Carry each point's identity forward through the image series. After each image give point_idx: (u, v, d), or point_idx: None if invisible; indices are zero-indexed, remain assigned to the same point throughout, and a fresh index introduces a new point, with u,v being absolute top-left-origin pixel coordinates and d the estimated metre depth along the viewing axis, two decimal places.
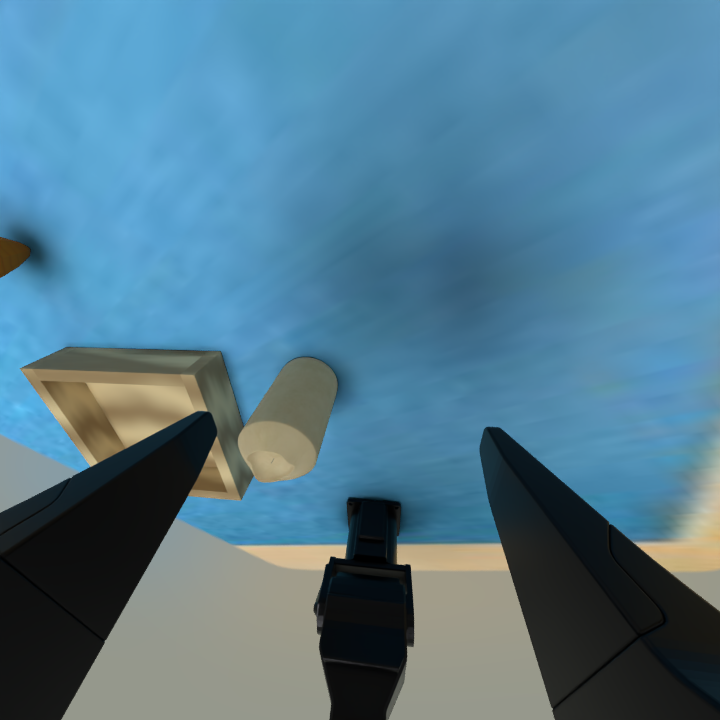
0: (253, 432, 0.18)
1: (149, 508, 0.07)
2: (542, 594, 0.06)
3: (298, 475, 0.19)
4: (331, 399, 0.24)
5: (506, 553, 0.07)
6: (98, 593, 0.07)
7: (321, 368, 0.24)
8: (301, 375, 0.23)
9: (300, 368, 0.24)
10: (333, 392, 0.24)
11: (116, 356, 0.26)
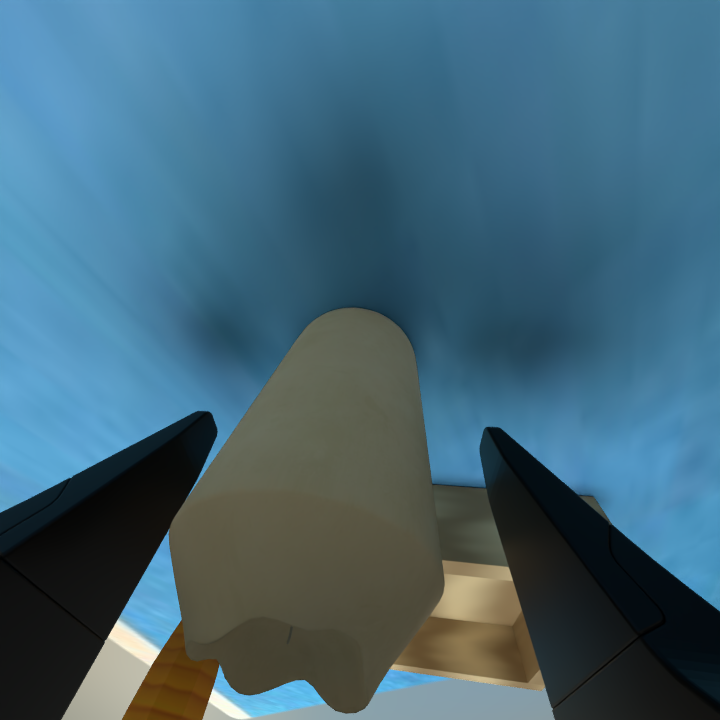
0: None
1: (149, 508, 0.07)
2: (542, 594, 0.06)
3: (377, 586, 0.04)
4: (329, 337, 0.09)
5: (506, 553, 0.07)
6: (98, 593, 0.07)
7: None
8: None
9: None
10: (333, 325, 0.10)
11: None
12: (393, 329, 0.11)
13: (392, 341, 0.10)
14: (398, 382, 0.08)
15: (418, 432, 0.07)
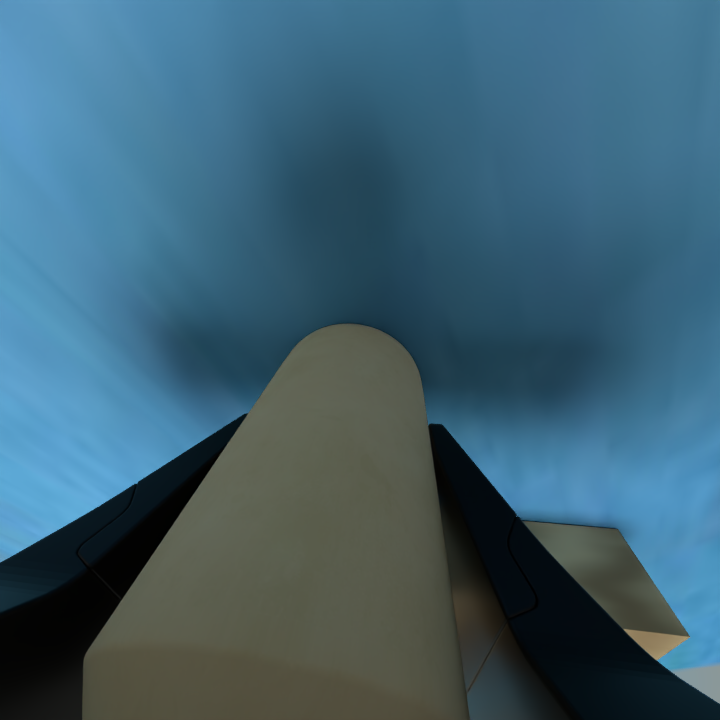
0: None
1: None
2: (457, 584, 0.06)
3: None
4: (319, 364, 0.08)
5: None
6: None
7: None
8: None
9: None
10: (325, 348, 0.08)
11: None
12: (396, 350, 0.09)
13: (395, 367, 0.08)
14: (403, 425, 0.06)
15: (429, 496, 0.06)
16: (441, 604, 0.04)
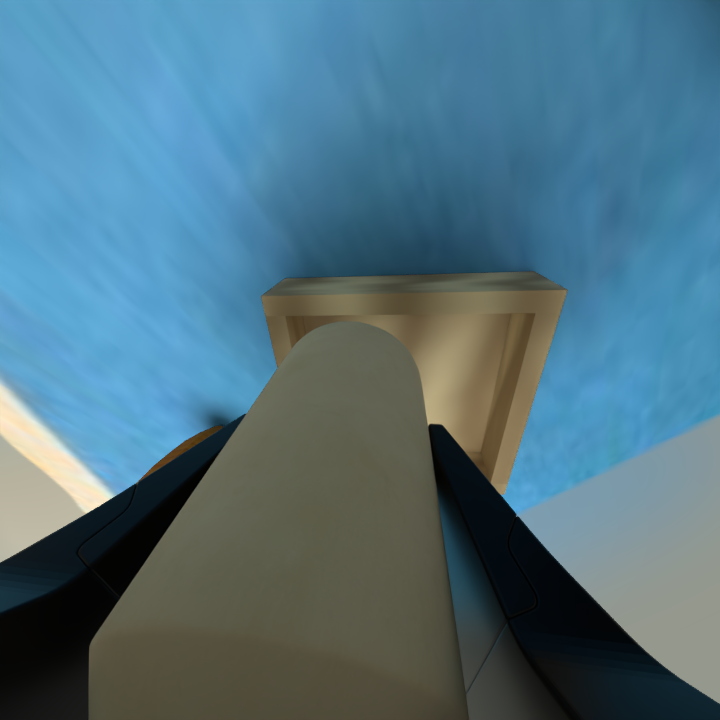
0: None
1: None
2: (457, 584, 0.06)
3: None
4: (319, 361, 0.08)
5: None
6: None
7: None
8: None
9: None
10: (325, 345, 0.08)
11: None
12: (395, 347, 0.09)
13: (394, 364, 0.08)
14: (402, 420, 0.07)
15: (428, 489, 0.06)
16: (439, 593, 0.04)
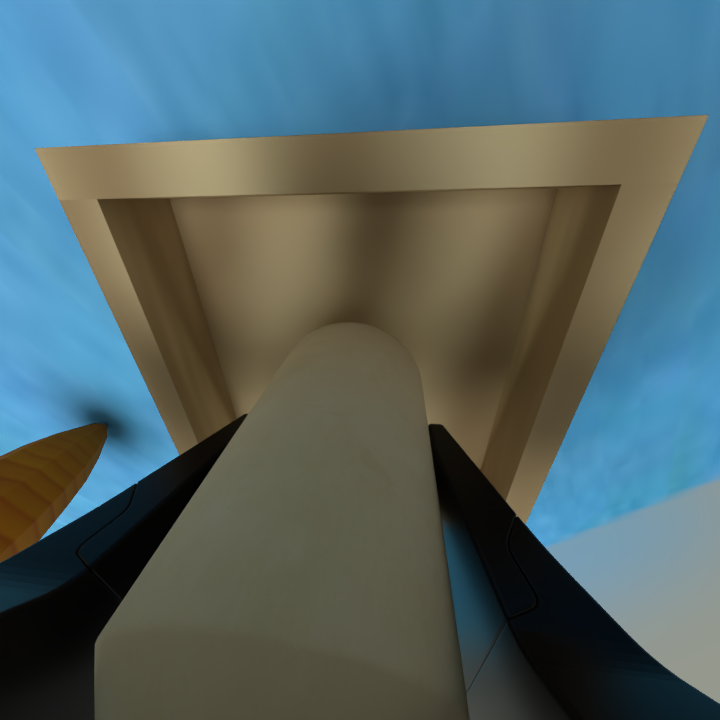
0: None
1: None
2: (457, 585, 0.06)
3: None
4: (320, 362, 0.08)
5: None
6: None
7: (284, 360, 0.10)
8: None
9: None
10: (326, 346, 0.09)
11: None
12: (395, 348, 0.10)
13: (394, 365, 0.08)
14: (402, 420, 0.07)
15: (428, 489, 0.06)
16: (439, 591, 0.04)
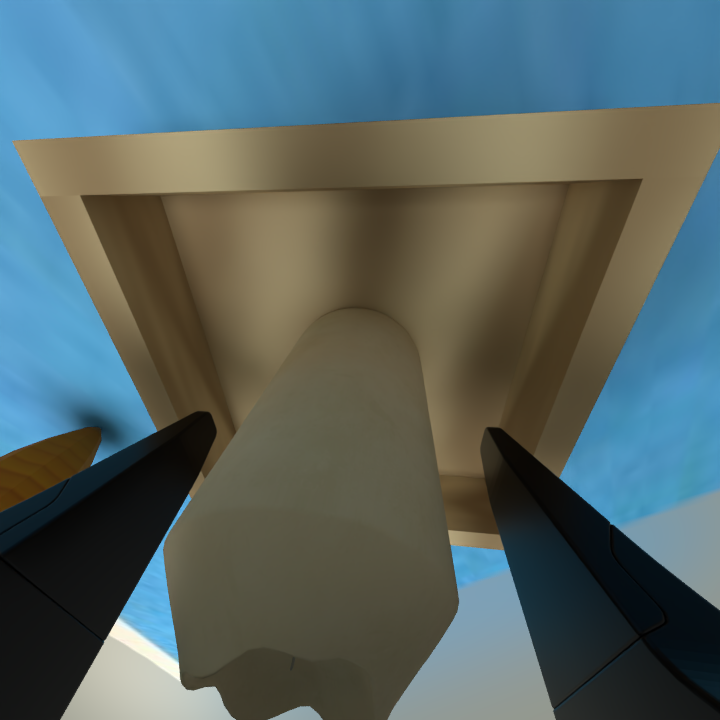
0: None
1: (148, 508, 0.07)
2: (543, 594, 0.06)
3: (387, 610, 0.04)
4: (331, 338, 0.09)
5: (507, 553, 0.07)
6: (98, 593, 0.07)
7: None
8: None
9: None
10: (335, 327, 0.10)
11: None
12: (397, 329, 0.11)
13: (396, 342, 0.10)
14: (404, 385, 0.08)
15: (426, 438, 0.07)
16: (434, 505, 0.05)
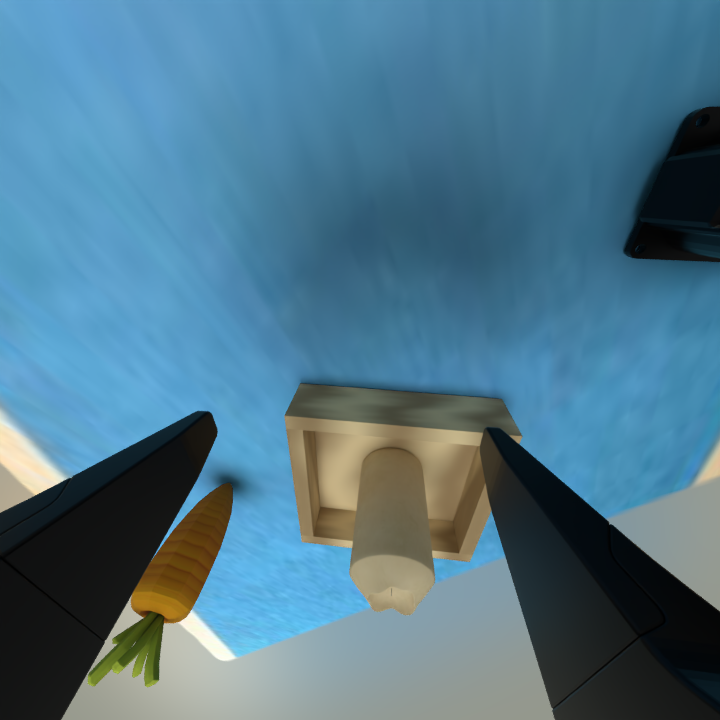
0: None
1: (149, 508, 0.07)
2: (542, 594, 0.06)
3: (418, 580, 0.17)
4: (389, 476, 0.22)
5: (506, 553, 0.07)
6: (98, 593, 0.07)
7: (366, 464, 0.24)
8: (358, 493, 0.23)
9: (359, 485, 0.24)
10: (388, 466, 0.23)
11: None
12: (413, 462, 0.24)
13: (414, 474, 0.23)
14: (418, 502, 0.21)
15: (426, 525, 0.20)
16: (429, 552, 0.18)
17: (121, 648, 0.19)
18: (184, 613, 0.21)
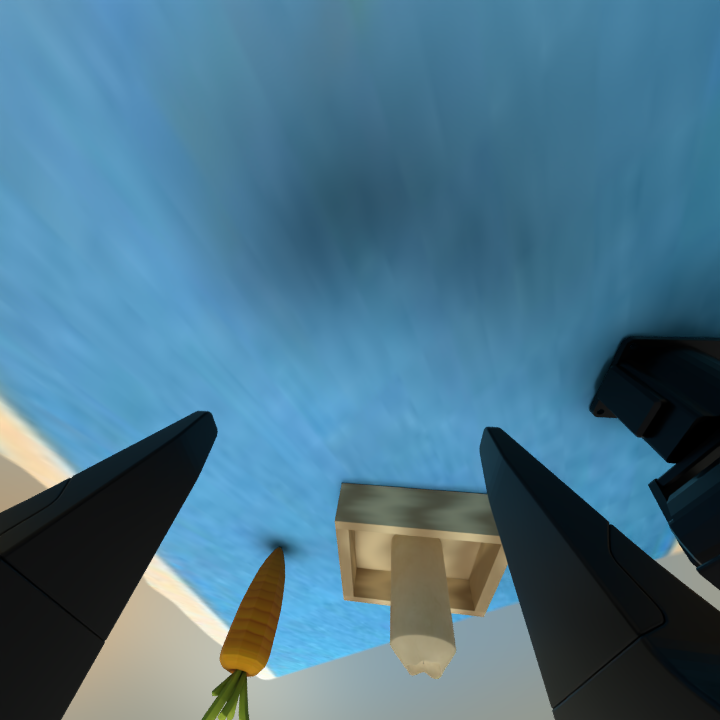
0: None
1: (149, 508, 0.07)
2: (542, 594, 0.06)
3: (443, 653, 0.23)
4: (416, 559, 0.28)
5: (506, 553, 0.07)
6: (98, 593, 0.07)
7: (396, 543, 0.30)
8: (391, 569, 0.29)
9: (391, 560, 0.30)
10: (415, 549, 0.29)
11: None
12: (434, 543, 0.29)
13: (435, 555, 0.28)
14: (440, 582, 0.27)
15: (447, 603, 0.26)
16: (450, 628, 0.24)
17: (221, 700, 0.25)
18: (261, 669, 0.28)
